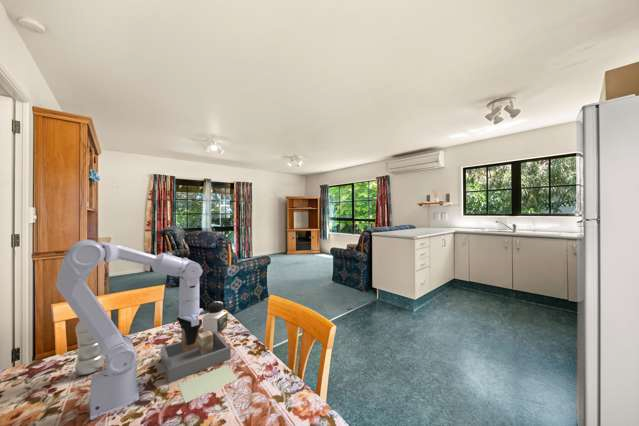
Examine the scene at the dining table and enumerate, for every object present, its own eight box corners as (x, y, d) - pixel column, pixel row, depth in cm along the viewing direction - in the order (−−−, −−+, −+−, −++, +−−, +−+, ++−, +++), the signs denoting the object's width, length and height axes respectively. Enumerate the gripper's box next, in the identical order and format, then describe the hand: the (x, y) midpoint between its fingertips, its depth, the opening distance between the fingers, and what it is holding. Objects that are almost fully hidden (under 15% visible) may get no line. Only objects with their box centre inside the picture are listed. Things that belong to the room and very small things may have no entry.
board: (185, 405, 62) (185, 402, 62) (178, 386, 69) (178, 384, 69) (238, 380, 71) (238, 378, 71) (227, 366, 78) (227, 364, 78)
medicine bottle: (217, 335, 98) (217, 306, 99) (202, 334, 100) (202, 305, 100) (227, 327, 105) (227, 300, 106) (213, 326, 107) (213, 299, 107)
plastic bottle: (105, 371, 76) (106, 308, 76) (74, 381, 71) (75, 314, 71) (103, 362, 80) (103, 303, 81) (74, 372, 75) (75, 308, 76)
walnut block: (184, 352, 73) (184, 332, 73) (181, 347, 76) (181, 327, 76) (198, 347, 76) (198, 328, 76) (195, 342, 79) (195, 324, 79)
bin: (168, 385, 69) (168, 369, 69) (160, 360, 81) (160, 347, 81) (230, 360, 81) (230, 347, 81) (215, 342, 93) (215, 330, 93)
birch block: (201, 355, 83) (201, 338, 83) (198, 350, 86) (198, 333, 86) (213, 351, 86) (213, 334, 86) (209, 346, 89) (209, 330, 89)
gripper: (209, 301, 73) (209, 345, 73) (196, 290, 84) (196, 329, 84) (184, 307, 69) (183, 354, 68) (173, 295, 80) (173, 335, 79)
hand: (189, 341), depth 76 cm, fingers closed on walnut block, 4 cm apart
